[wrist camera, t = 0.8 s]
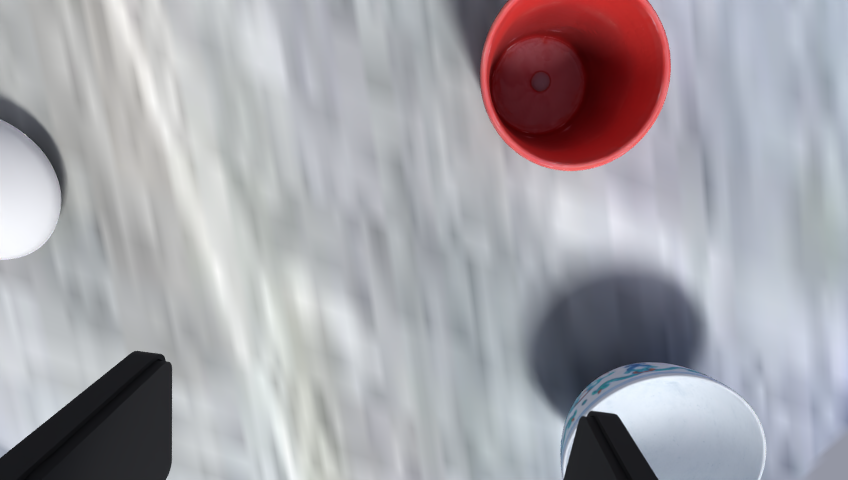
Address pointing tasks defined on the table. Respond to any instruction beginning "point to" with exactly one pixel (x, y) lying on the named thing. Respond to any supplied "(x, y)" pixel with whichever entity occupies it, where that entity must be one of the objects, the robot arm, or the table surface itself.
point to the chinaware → (676, 422)
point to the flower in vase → (25, 194)
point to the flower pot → (574, 78)
